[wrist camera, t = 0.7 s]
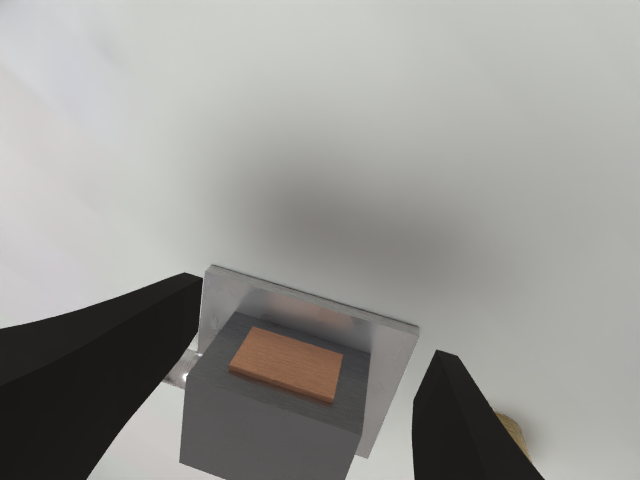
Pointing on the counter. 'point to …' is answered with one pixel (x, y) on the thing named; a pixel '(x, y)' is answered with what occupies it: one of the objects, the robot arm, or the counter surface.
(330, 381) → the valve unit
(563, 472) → the counter surface
